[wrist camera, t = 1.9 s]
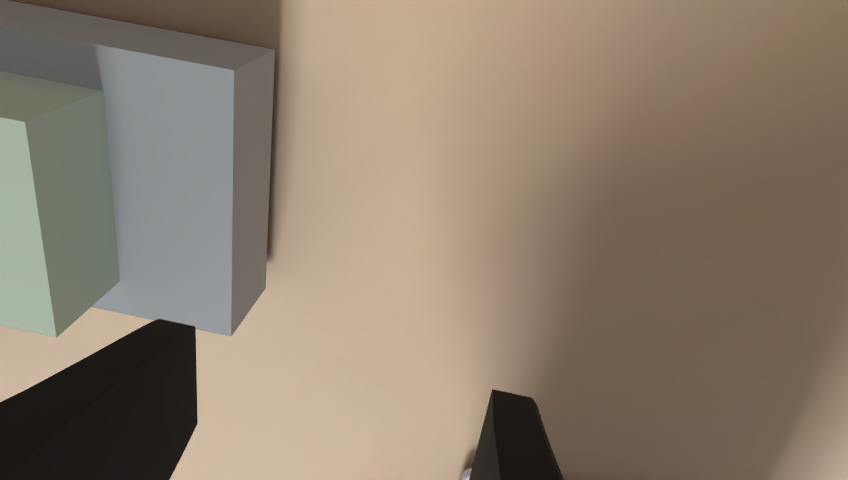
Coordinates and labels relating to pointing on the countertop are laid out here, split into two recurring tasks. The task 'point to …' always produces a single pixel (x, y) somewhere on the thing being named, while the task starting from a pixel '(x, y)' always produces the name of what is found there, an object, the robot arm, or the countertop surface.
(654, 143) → the countertop surface
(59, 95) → the stacked grey base
